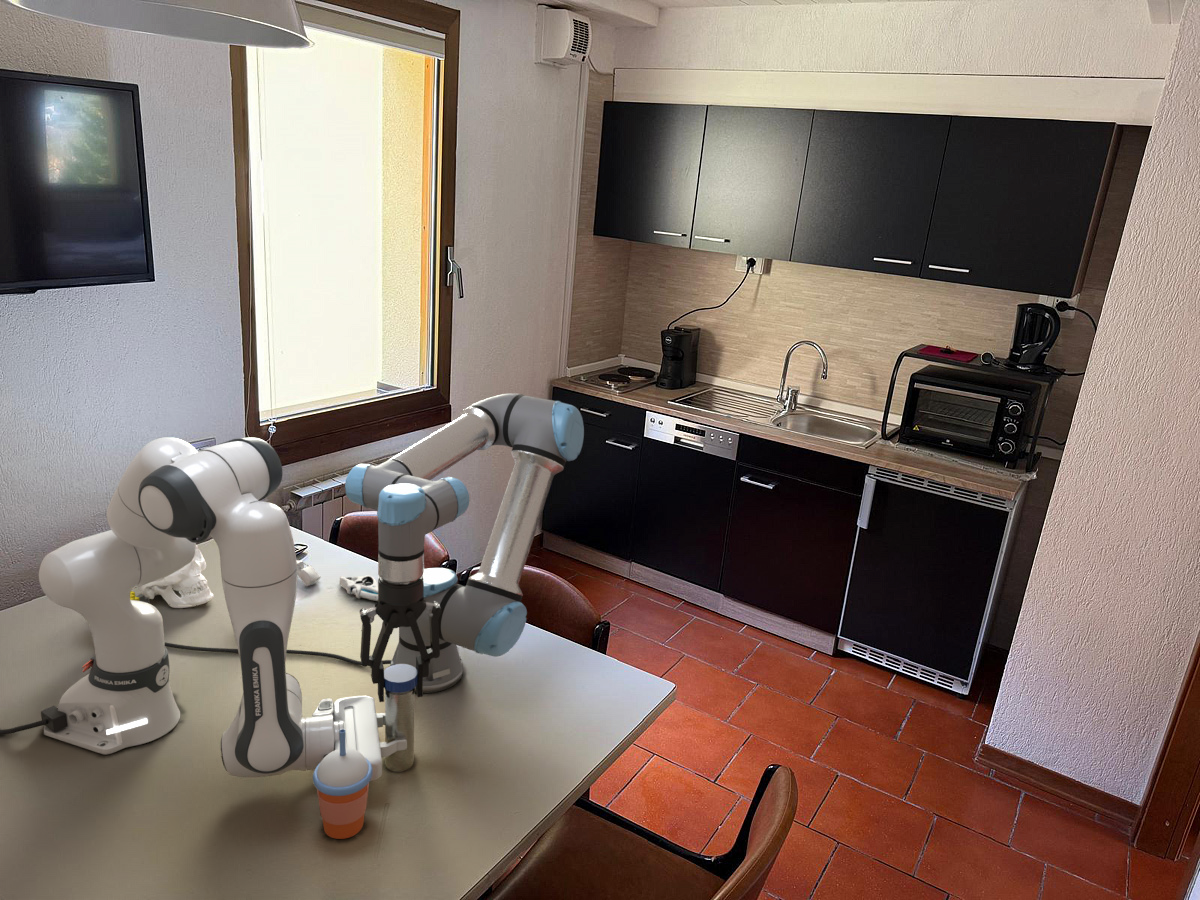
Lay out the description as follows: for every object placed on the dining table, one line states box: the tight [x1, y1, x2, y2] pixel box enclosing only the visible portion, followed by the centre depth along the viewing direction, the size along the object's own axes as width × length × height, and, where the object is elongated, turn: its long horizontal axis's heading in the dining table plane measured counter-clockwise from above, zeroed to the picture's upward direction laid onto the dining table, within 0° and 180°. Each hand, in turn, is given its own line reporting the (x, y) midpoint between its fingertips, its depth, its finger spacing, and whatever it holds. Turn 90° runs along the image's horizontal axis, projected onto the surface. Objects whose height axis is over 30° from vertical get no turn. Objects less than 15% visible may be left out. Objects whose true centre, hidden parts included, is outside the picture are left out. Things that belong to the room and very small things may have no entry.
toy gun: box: [338, 574, 378, 602], centre depth 214 cm, size 18×2×10 cm
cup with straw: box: [312, 729, 373, 840], centre depth 136 cm, size 9×9×18 cm
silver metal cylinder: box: [384, 688, 416, 773], centre depth 152 cm, size 5×5×18 cm
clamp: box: [296, 559, 322, 587], centre depth 219 cm, size 20×4×7 cm, turn 62°
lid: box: [384, 664, 418, 693], centre depth 149 cm, size 6×6×2 cm
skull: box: [137, 544, 214, 609], centre depth 203 cm, size 13×22×16 cm, turn 73°
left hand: (404, 731), depth 153 cm, fingers closed on silver metal cylinder, 5 cm apart
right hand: (400, 694), depth 150 cm, fingers closed on lid, 6 cm apart
